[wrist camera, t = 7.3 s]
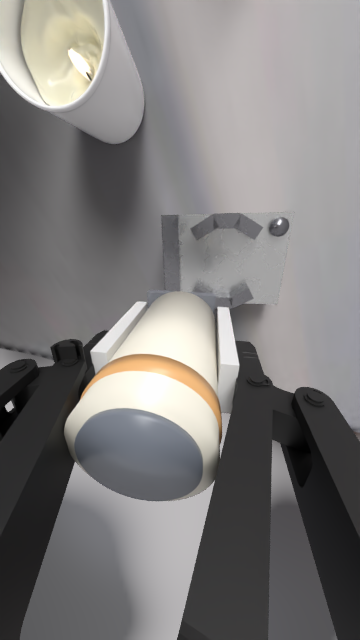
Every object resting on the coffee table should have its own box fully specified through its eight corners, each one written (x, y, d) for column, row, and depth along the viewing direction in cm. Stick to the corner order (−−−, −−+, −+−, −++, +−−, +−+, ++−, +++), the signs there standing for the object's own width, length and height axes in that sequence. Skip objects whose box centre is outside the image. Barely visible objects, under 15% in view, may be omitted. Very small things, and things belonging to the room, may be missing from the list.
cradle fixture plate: (172, 290, 35) (163, 306, 29) (169, 215, 30) (158, 215, 24) (268, 292, 33) (281, 310, 27) (281, 212, 28) (301, 211, 22)
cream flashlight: (148, 348, 17) (73, 496, 8) (145, 285, 15) (36, 387, 6) (213, 354, 17) (215, 522, 7) (220, 289, 14) (234, 412, 5)
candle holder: (127, 169, 28) (76, 140, 18) (61, 117, 27) (-39, 50, 16) (167, 83, 24) (133, -23, 14) (92, 16, 23) (-14, -164, 12)
